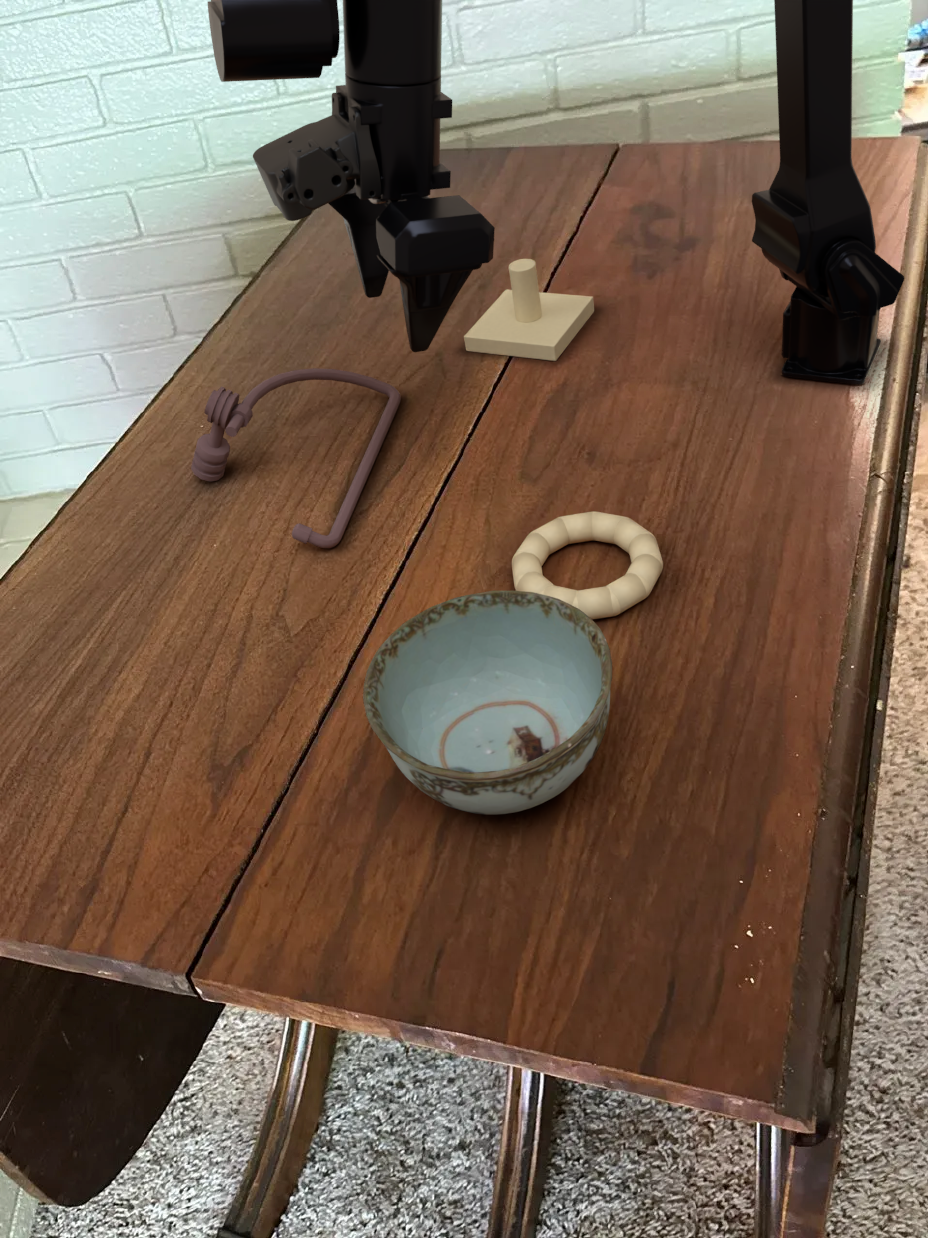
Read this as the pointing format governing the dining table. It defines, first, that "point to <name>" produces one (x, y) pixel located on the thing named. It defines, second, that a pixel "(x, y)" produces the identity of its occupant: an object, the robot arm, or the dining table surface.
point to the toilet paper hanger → (235, 416)
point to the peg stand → (529, 319)
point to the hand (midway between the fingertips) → (395, 322)
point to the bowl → (492, 699)
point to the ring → (586, 529)
